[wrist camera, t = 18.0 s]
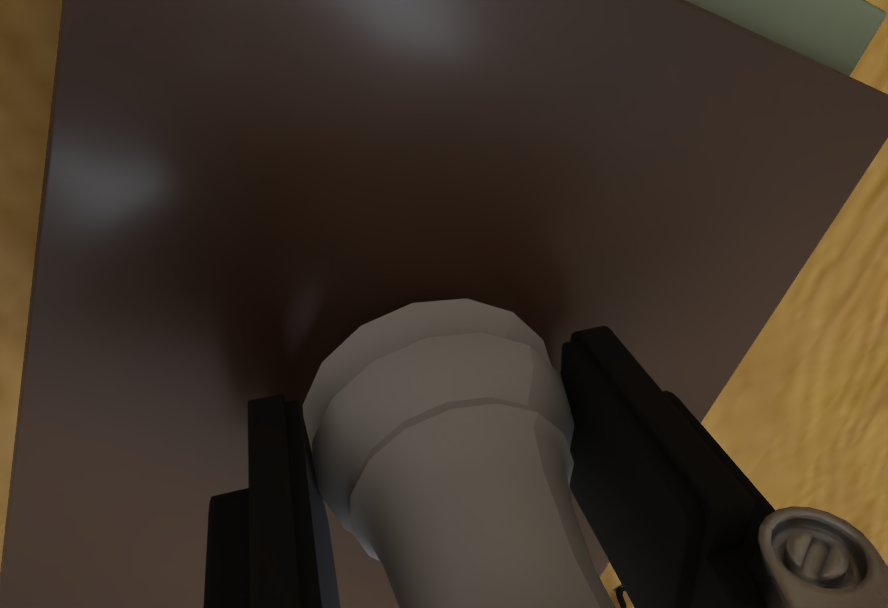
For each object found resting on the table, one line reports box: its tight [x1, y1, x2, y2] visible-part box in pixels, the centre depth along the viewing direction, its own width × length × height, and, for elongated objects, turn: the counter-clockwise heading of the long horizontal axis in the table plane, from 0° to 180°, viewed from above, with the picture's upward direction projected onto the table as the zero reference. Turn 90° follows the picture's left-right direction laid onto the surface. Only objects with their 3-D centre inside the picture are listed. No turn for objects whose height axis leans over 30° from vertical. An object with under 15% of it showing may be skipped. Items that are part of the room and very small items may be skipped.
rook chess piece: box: [303, 298, 615, 608], centre depth 9 cm, size 4×4×8 cm
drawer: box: [686, 0, 886, 76], centre depth 14 cm, size 18×11×8 cm, turn 159°
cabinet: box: [0, 0, 888, 608], centre depth 16 cm, size 15×13×10 cm
